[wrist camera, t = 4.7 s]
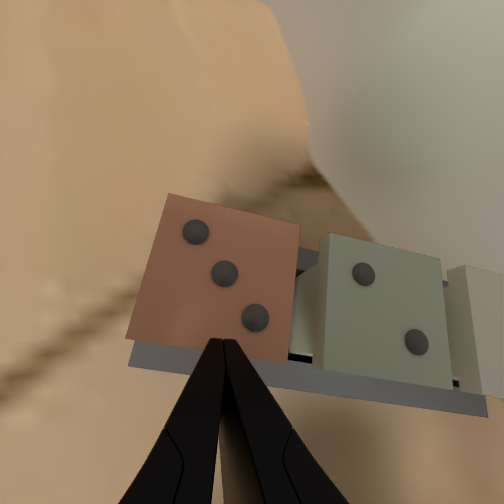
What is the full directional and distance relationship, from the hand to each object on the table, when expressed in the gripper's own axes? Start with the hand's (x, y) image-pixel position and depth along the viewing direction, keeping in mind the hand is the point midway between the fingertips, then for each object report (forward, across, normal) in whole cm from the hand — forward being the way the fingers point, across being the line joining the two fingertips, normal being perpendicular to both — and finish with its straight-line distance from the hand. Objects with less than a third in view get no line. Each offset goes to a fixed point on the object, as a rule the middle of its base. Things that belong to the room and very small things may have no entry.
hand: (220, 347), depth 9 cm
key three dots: (+7, 0, +4) cm, 8 cm away
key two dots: (+7, -7, +4) cm, 11 cm away
